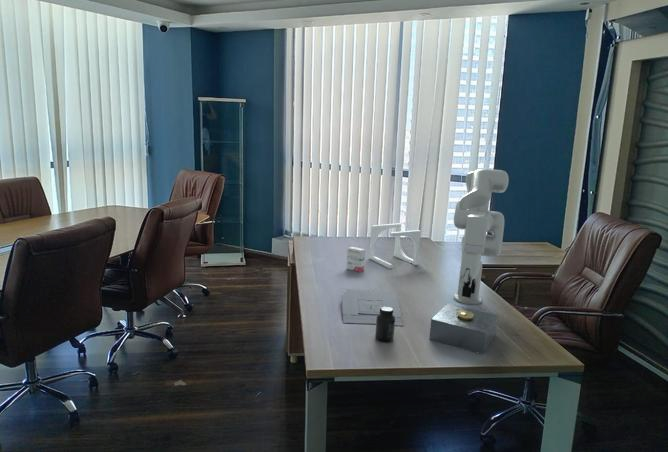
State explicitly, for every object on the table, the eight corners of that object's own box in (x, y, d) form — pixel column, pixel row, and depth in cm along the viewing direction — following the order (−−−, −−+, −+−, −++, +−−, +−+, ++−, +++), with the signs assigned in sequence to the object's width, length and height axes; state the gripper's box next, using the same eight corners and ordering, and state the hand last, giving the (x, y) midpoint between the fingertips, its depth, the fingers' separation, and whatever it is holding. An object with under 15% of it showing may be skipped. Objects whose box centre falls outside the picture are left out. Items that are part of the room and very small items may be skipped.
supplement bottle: (392, 335, 188) (394, 305, 185) (394, 343, 181) (397, 312, 179) (374, 334, 188) (376, 304, 185) (376, 342, 181) (378, 311, 178)
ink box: (364, 270, 266) (366, 249, 264) (360, 272, 262) (361, 250, 260) (350, 266, 271) (352, 246, 268) (346, 268, 267) (347, 247, 264)
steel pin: (457, 331, 194) (460, 309, 191) (472, 336, 191) (475, 312, 189) (452, 337, 188) (455, 314, 186) (468, 341, 186) (471, 317, 183)
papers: (394, 296, 226) (395, 289, 224) (403, 331, 197) (404, 323, 196) (341, 294, 225) (342, 286, 224) (342, 328, 197) (342, 320, 196)
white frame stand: (417, 264, 282) (421, 230, 278) (389, 268, 272) (392, 233, 268) (396, 255, 299) (399, 223, 295) (369, 258, 289) (371, 225, 285)
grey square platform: (445, 322, 203) (448, 303, 201) (495, 334, 193) (498, 315, 192) (429, 339, 186) (431, 318, 184) (482, 354, 176) (485, 332, 175)
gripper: (469, 242, 191) (464, 286, 195) (456, 250, 177) (451, 298, 181) (489, 245, 187) (483, 290, 191) (478, 254, 173) (471, 303, 177)
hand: (468, 294), depth 186 cm, fingers open, 4 cm apart
